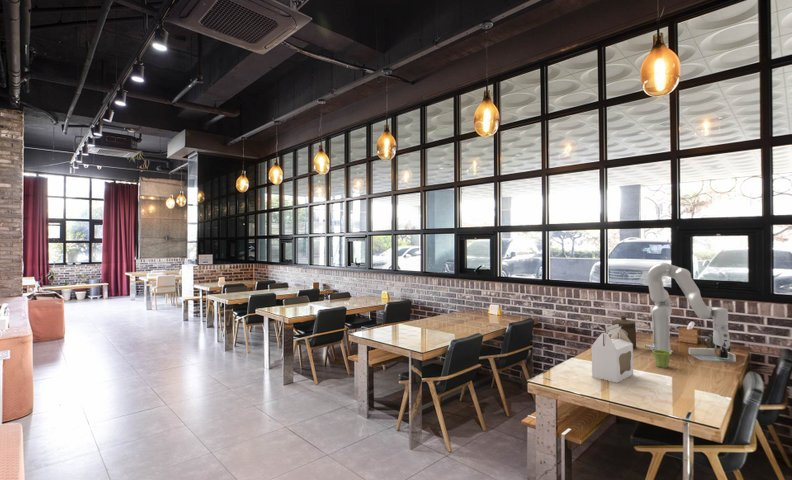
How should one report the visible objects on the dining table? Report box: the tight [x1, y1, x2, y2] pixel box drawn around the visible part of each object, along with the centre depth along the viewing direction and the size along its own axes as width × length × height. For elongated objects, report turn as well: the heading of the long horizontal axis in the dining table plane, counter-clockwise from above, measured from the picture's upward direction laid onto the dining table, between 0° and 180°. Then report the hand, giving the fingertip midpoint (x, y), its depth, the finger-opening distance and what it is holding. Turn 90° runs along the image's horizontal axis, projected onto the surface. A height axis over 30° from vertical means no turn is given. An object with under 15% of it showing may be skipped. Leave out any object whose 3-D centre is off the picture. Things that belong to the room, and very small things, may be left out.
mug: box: [702, 333, 732, 353], centre depth 270 cm, size 11×15×12 cm
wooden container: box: [611, 315, 637, 350], centre depth 289 cm, size 15×15×22 cm
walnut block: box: [714, 347, 728, 358], centre depth 253 cm, size 5×5×5 cm
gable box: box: [591, 324, 634, 384], centre depth 226 cm, size 22×13×28 cm, turn 129°
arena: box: [688, 347, 737, 363], centre depth 256 cm, size 19×15×5 cm
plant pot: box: [652, 350, 672, 369], centre depth 242 cm, size 9×9×9 cm
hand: (721, 356), depth 253 cm, fingers closed on walnut block, 5 cm apart
